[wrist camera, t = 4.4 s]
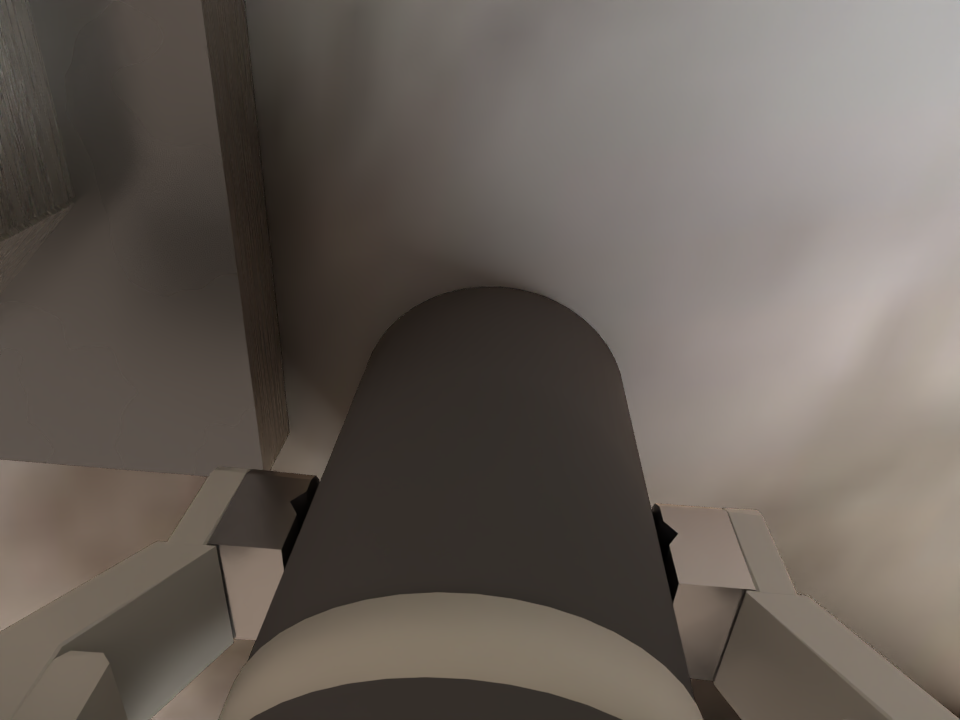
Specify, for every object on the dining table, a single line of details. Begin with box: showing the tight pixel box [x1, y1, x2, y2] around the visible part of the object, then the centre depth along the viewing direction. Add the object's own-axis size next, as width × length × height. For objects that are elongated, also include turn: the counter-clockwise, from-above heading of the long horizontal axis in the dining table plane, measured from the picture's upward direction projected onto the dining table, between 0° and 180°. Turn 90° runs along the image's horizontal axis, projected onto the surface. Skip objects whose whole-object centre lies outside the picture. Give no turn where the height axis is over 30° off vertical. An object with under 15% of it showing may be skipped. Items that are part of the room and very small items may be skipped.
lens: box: [218, 287, 703, 720], centre depth 10 cm, size 5×5×8 cm
